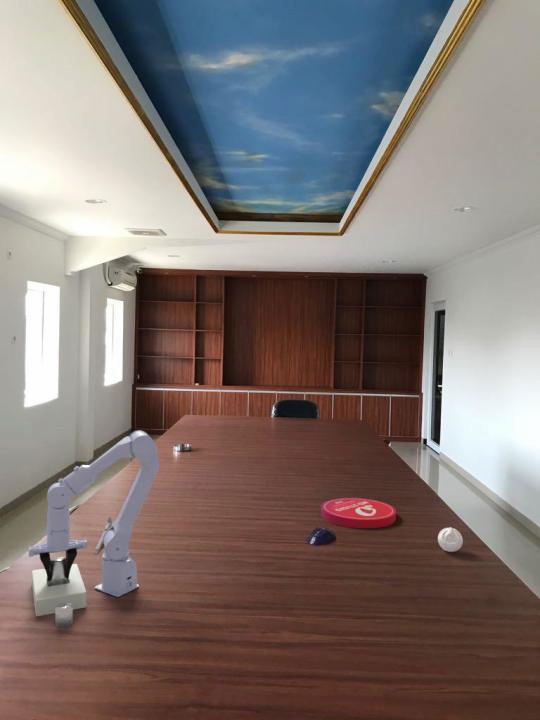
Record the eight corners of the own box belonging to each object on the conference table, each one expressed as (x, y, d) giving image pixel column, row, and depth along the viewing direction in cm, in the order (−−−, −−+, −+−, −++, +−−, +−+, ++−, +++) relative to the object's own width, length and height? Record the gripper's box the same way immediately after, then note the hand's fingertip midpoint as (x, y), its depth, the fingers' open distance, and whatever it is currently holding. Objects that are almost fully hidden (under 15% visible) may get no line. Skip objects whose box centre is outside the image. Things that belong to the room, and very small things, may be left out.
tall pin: (68, 588, 148) (69, 558, 148) (56, 593, 145) (56, 563, 145) (59, 584, 150) (59, 555, 150) (46, 589, 147) (46, 560, 147)
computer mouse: (297, 542, 192) (297, 531, 192) (320, 531, 204) (320, 520, 204) (320, 548, 187) (320, 537, 186) (341, 537, 198) (342, 526, 198)
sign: (306, 514, 224) (363, 534, 201) (306, 506, 224) (363, 525, 201) (353, 502, 244) (410, 518, 221) (353, 494, 244) (410, 510, 221)
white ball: (437, 553, 183) (437, 530, 183) (438, 545, 190) (438, 523, 190) (462, 556, 181) (462, 533, 180) (462, 548, 188) (463, 526, 188)
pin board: (86, 607, 141) (86, 592, 141) (35, 616, 136) (35, 600, 136) (76, 577, 159) (76, 563, 159) (31, 584, 154) (32, 570, 154)
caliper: (109, 533, 197) (109, 516, 197) (112, 533, 198) (112, 516, 197) (93, 554, 177) (94, 535, 177) (97, 554, 177) (97, 535, 177)
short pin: (75, 623, 133) (75, 607, 133) (59, 629, 130) (60, 612, 130) (67, 616, 136) (68, 601, 136) (52, 622, 133) (52, 606, 133)
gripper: (84, 520, 154) (84, 568, 154) (28, 527, 147) (28, 576, 148) (88, 528, 147) (87, 577, 148) (29, 535, 141) (29, 587, 141)
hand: (58, 578), depth 147 cm, fingers closed on tall pin, 4 cm apart
